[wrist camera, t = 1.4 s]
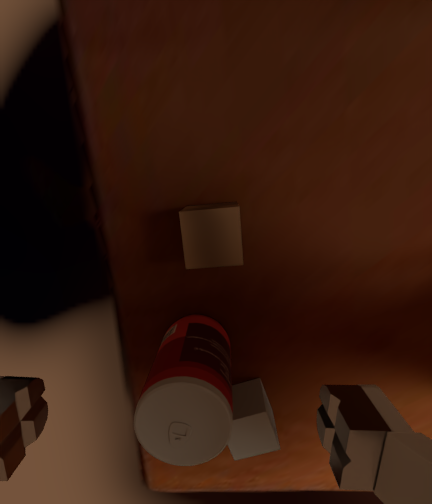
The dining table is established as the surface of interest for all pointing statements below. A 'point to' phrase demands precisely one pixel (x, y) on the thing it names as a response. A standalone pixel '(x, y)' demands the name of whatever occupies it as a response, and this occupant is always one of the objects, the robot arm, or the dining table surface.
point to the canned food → (188, 394)
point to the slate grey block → (252, 421)
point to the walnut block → (211, 235)
